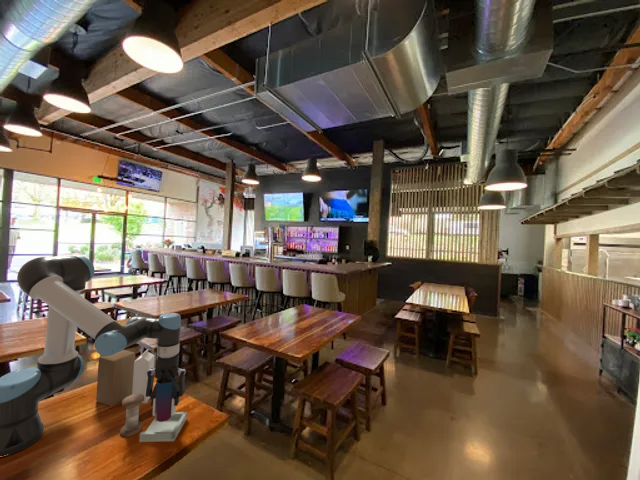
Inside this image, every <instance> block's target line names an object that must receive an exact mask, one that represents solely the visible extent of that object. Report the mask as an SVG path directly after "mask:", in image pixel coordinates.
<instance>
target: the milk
mask: <svg viewBox="0 0 640 480" xmlns="http://www.w3.org/2000/svg"><path fill="white" fill-rule="evenodd" d="M151 368H153V369H154V368H155V354H153V353H151V352H149V348H147V349H146V350H145V351H144V352H143V353H142V354H141V355H139V357H138V358H136V359H135V361H134V374H133V389H132V395H133V394H143V395H144V401H143V402H142V403H141V404H148V402H149V400H151V397H149V396H148V397H146V389H147V381H148V375H147V372H148V371H149V370H150V369H151Z"/></svg>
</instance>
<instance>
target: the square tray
mask: <svg viewBox="0 0 640 480" xmlns="http://www.w3.org/2000/svg"><path fill="white" fill-rule="evenodd" d="M187 416H188V412H187V411H176V412H175V413H174V415H173V416H171V418H170V419H169V420H167V421H164V422H158V421H157V418H156V415H155V416H154V419H153V420H152V422H151V423H150V425H149V426H148V427H147V429H146V430H145V431H143V432H142V431H140V432H139V443H143V442H145V443H147V442H150V443H151V442H153V443H155V442H156V443H157V442H175V441H176V438H177V437H178V435H179V434H180V431H181V430H182V428H183V426H184V424H185V423H186V421H187V418H188V417H187Z"/></svg>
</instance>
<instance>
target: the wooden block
mask: <svg viewBox="0 0 640 480" xmlns="http://www.w3.org/2000/svg"><path fill="white" fill-rule="evenodd" d="M135 360H136V352H133V351H130V350H127V349H123V350H122V351H120V352H117V353H115V354H113V355H110V356H102V355H100V357H99V358H98V365H97V377H96V378H97V381H96V382H97V383H96V395H95V396H96V397H95V398H96V402H98V403H101V404H104V405H106V406H109V407H113V406H115V405H117V404H119V403H120V402H122V401H123V399H124V398H126V397H127V396H130V395H132V389H133V374H134V361H135Z"/></svg>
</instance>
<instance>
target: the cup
mask: <svg viewBox="0 0 640 480" xmlns="http://www.w3.org/2000/svg"><path fill="white" fill-rule="evenodd" d="M176 380H177V377H176V378H175V380H174V381H172V382H169V379H163V380H162V382H161V384H160V383H158V382H157V379H156V381H155V384H156V418H157V421H158V422H164V421H167V420H169V419H170V418H171V407H172V398H173V397H174V395H173V384H174V383H175V382H176Z"/></svg>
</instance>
